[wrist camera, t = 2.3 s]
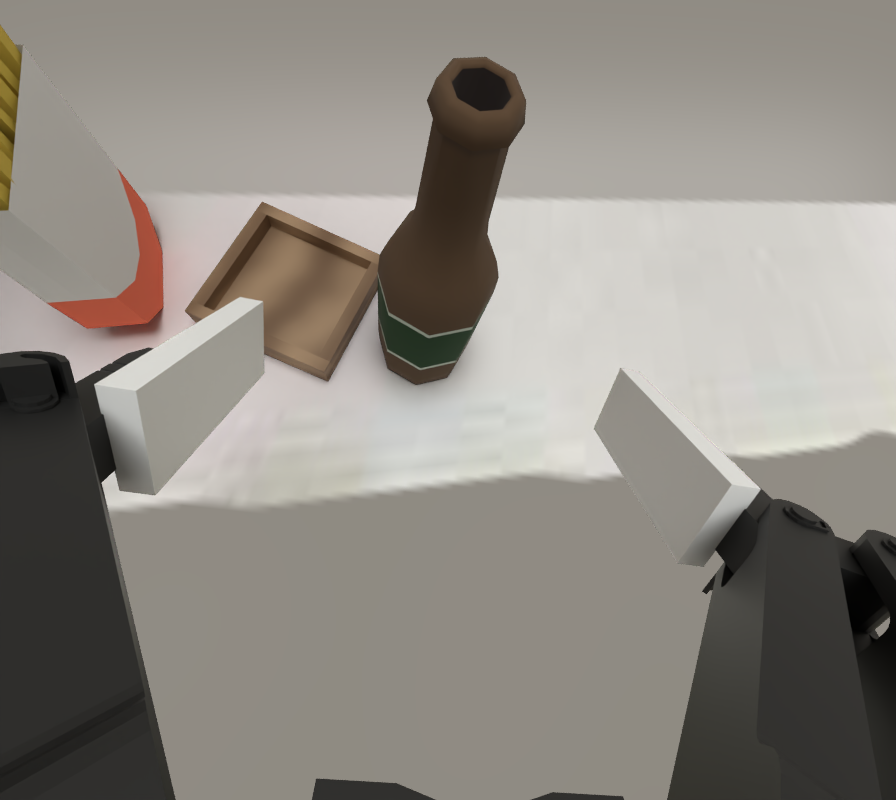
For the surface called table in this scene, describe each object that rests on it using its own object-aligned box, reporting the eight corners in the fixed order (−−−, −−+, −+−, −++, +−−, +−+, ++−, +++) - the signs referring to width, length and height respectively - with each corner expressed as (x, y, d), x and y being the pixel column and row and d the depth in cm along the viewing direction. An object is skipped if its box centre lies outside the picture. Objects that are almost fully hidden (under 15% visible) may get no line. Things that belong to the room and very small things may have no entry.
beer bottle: (385, 302, 38) (390, -17, 15) (466, 316, 39) (586, 36, 16) (371, 380, 36) (353, 144, 13) (458, 393, 37) (584, 195, 14)
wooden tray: (198, 324, 35) (184, 310, 32) (269, 221, 38) (262, 201, 36) (328, 381, 35) (324, 371, 33) (386, 273, 39) (386, 257, 36)
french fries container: (102, 342, 33) (-198, 158, 16) (104, 228, 36) (-152, -35, 18) (164, 336, 34) (-56, 156, 17) (162, 225, 37) (-31, -28, 19)
